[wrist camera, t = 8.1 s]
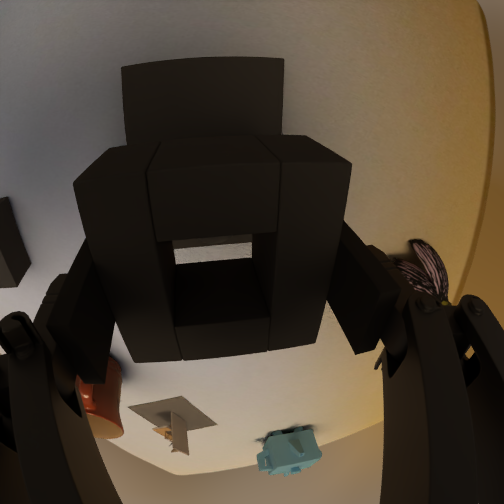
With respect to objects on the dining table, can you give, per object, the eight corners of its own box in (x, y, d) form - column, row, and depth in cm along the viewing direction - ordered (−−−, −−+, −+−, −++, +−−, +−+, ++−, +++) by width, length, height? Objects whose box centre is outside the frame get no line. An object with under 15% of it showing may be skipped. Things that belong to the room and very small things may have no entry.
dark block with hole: (108, 147, 10) (71, 182, 7) (306, 135, 11) (353, 163, 8) (141, 301, 14) (133, 364, 11) (291, 286, 16) (315, 343, 12)
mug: (126, 383, 38) (124, 442, 30) (73, 372, 35) (63, 430, 27) (130, 335, 33) (123, 409, 24) (65, 321, 30) (45, 391, 21)
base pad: (125, 67, 17) (61, 61, 8) (279, 59, 19) (354, 49, 9) (146, 243, 26) (128, 344, 16) (271, 232, 28) (314, 324, 18)
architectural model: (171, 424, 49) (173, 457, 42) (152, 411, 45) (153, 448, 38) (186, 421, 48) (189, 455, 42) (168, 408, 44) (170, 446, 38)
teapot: (323, 415, 59) (338, 456, 49) (302, 441, 68) (313, 474, 59) (258, 427, 55) (268, 472, 46) (248, 450, 65) (255, 486, 56)
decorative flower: (474, 325, 31) (408, 398, 28) (419, 301, 42) (354, 358, 39) (473, 234, 26) (399, 311, 23) (405, 221, 37) (328, 277, 34)
